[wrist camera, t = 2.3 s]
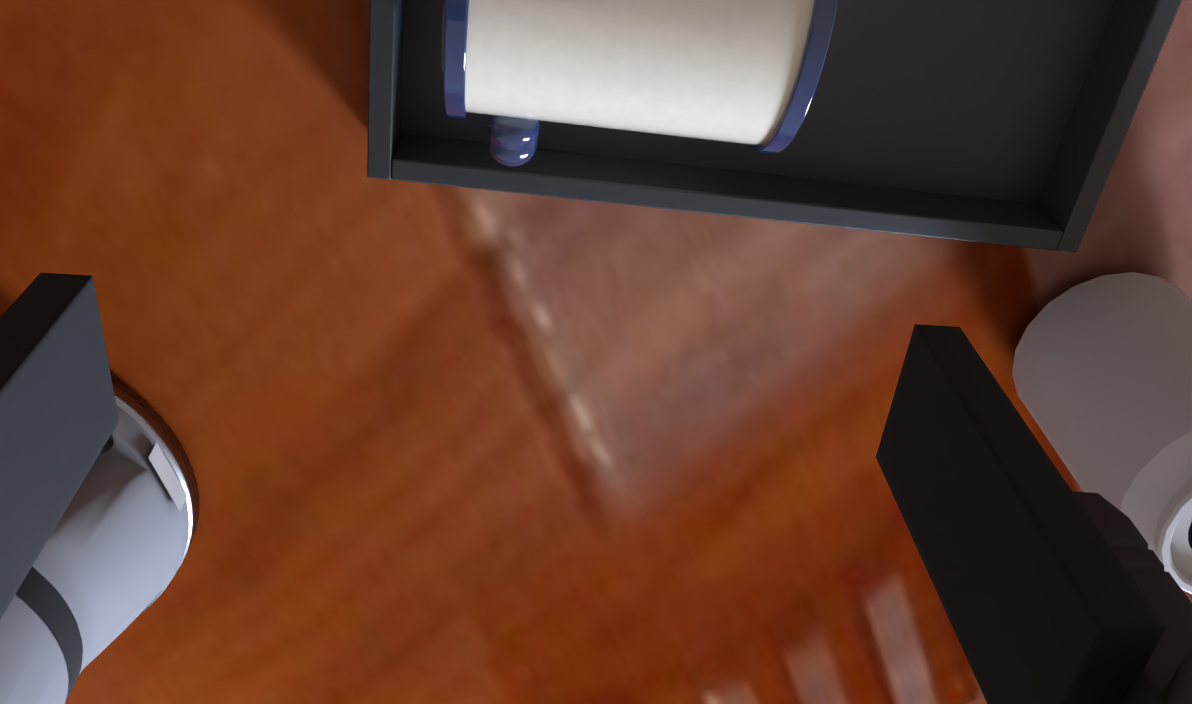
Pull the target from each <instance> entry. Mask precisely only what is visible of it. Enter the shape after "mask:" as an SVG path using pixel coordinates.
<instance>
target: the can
mask: <svg viewBox="0 0 1192 704" xmlns="http://www.w3.org/2000/svg"><path fill="white" fill-rule="evenodd" d="M1012 375H1013V379H1014V383H1015V387H1016V390H1017V394H1018V396H1019V398H1020V399H1021V400H1022V402H1023V403H1024V405H1025V406H1026V408H1027V409H1028V411H1029V412H1030V414H1031V415H1032V417H1033V418H1034V420H1035V421H1036V422H1037V424H1038V425H1039V427H1040V428H1041V430H1042V431H1043V433H1044V434H1045V436H1046V437H1047V439H1048V440H1049V441H1050V443H1051V444H1052V446H1053V447H1054V449H1055V450H1056V452H1057V453H1058V455H1059V456H1060V458H1061V459H1062V461H1063V462H1064V463H1065V465H1066V466H1067V468H1068V469H1069V471H1070V472H1071V474H1072V475H1073V477H1074V478H1075V480H1076V481H1077V483H1078V484H1079V485H1080V487H1081V488H1082V490H1083V491H1084V492H1090V493H1098V494H1100V495H1101V496H1102V497H1103V498H1105V499H1106V500H1107V501H1109V502H1110V503H1111V504H1112V505H1114V506H1115V507H1116V508H1118V509H1119V510H1120V511H1121V512H1123V513H1124V514H1125V515H1126V516H1128V517H1129V518H1130V520H1131V521H1132V522H1133V524H1134V525H1135V527H1136V528H1137V529H1138V531H1139V532H1140V533H1141V535H1142V536H1143V537H1144V539H1145V540H1146V542H1147V543H1148V544H1149V545H1148V549H1150V550H1153V551H1154V552H1155V554H1156V555H1157V557H1158V558H1159V559H1160V561H1161V562H1162V563H1163V565H1164V566H1165V567H1164V571H1165V572H1169V573H1170V574H1171V576H1172V577H1173V578H1174V580H1175V581H1176V582H1177V584H1178V585H1179V587H1180V588H1181V589H1182V590H1184V591H1187V592H1188V593H1190V594H1192V300H1191V299H1190V298H1189V297H1188V296H1187V295H1186V294H1185V293H1184V292H1183V291H1182V290H1180V289H1179V288H1177V287H1176V286H1174V285H1172V284H1171V283H1169V282H1167V281H1166V280H1164V279H1162V278H1161V277H1157V276H1152V275H1146V274H1141V273H1136V272H1129V273H1119V274H1110V275H1103V276H1100V277H1097V278H1095V279H1092V280H1089V281H1087V282H1084V283H1081V284H1079V285H1076V286H1073V287H1072V288H1070V289H1069V290H1067V291H1066V292H1064V293H1063V294H1061V295H1060V296H1059V297H1057V298H1056V299H1054V300H1053V301H1051V302H1050V303H1048V304H1047V305H1046V306H1045V307H1044V308H1043V309H1042V310H1041V312H1040V313H1039V314H1038V315H1037V316H1036V317H1035V318H1034V319H1033V320H1032V321H1031V323H1030V324H1029V325H1028V326H1027V328H1026V330H1025V332H1024V334H1023V336H1022V338H1021V340H1020V342H1019V344H1018V346H1017V348H1016V350H1015V356H1014V363H1013V371H1012Z"/></svg>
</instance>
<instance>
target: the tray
mask: <svg viewBox="0 0 1192 704" xmlns="http://www.w3.org/2000/svg"><path fill="white" fill-rule="evenodd" d="M1181 1H1182V0H839V1H838V7H837V12H836V17H835V22H834V27H833V31H832V35H831V40H830V44H829V48H828V52H827V55H826V59H825V63H824V66H823V70H822V73H821V76H820V79H819V83H818V86H817V88H816V91H815V94H814V97H813V99H812V102H811V105H810V107H809V109H808V112H807V114H806V116H805V118H804V120H803V122H802V124H801V126H800V128H799V130H798V132H797V134H796V135H795V137H794V138H793V140H792V141H791V142H790V144H789V145H788V146H787V147H786V148H785V149H784V150H782V151H781V152H779V153H776V154H770V153H761V152H755V151H754V150H752V149H751V148H750V146H749V145H748V144H742V143H733V142H724V141H715V140H706V139H698V138H689V137H680V136H671V135H663V134H654V133H645V132H636V131H628V130H619V129H610V128H601V127H592V126H584V125H575V124H566V123H557V122H549V121H540V127H539V136H538V145H537V149H536V152H535V154H534V155H533V157H532V158H531V159H530V160H529V161H528V162H526V163H524V164H523V165H520V166H506V165H503V164H501V163H499V162H498V161H497V160H496V159H494V157H493V156H492V155H491V153H490V151H489V149H488V144H487V134H488V121H489V115H487V114H478V113H470V112H469V114H468V117H467V118H466V119H461V118H452V117H448V116H447V115H446V112H445V107H444V94H443V86H442V61H441V53H442V11H443V0H370V21H369V90H368V159H367V176H368V177H370V178H379V179H388V180H389V179H391V178H392V179H393V180H401V181H410V182H419V183H429V184H438V185H448V186H457V187H466V188H476V189H485V190H494V191H504V192H513V193H522V194H532V195H541V196H551V197H560V198H569V199H579V200H588V201H597V202H607V203H616V204H625V205H635V206H644V207H654V208H663V209H672V210H682V211H691V212H700V213H710V214H719V215H728V216H738V217H747V218H757V219H766V220H775V221H785V222H794V223H803V224H813V225H822V226H831V227H841V228H850V229H860V230H869V231H878V232H888V233H897V234H906V235H916V236H925V237H934V238H944V239H953V240H962V241H972V242H981V243H991V244H1000V245H1009V246H1019V247H1028V248H1037V249H1047V250H1058V251H1066V252H1077V251H1078V248H1079V246H1080V243H1081V241H1082V239H1083V236H1084V234H1085V231H1086V229H1087V227H1088V224H1089V222H1090V219H1091V217H1092V215H1093V212H1094V210H1095V207H1096V205H1097V203H1098V200H1099V198H1100V195H1101V193H1102V191H1103V188H1104V186H1105V183H1106V181H1107V179H1108V176H1109V174H1110V171H1111V169H1112V167H1113V164H1114V162H1115V159H1116V157H1117V155H1118V152H1119V150H1120V147H1121V145H1122V143H1123V140H1124V138H1125V135H1126V133H1127V131H1128V128H1129V126H1130V123H1131V121H1132V119H1133V116H1134V114H1135V111H1136V109H1137V107H1138V104H1139V102H1140V99H1141V97H1142V95H1143V92H1144V90H1145V87H1146V85H1147V83H1148V80H1149V78H1150V75H1151V73H1152V71H1153V68H1154V66H1155V63H1156V61H1157V59H1158V56H1159V54H1160V51H1161V49H1162V47H1163V44H1164V42H1165V39H1166V37H1167V35H1168V32H1169V30H1170V27H1171V25H1172V23H1173V20H1174V18H1175V15H1176V13H1177V11H1178V8H1179V6H1180V3H1181Z"/></svg>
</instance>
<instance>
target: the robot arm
mask: <svg viewBox="0 0 1192 704" xmlns="http://www.w3.org/2000/svg"><path fill="white" fill-rule="evenodd" d="M876 458H877V460H878V463H879V465H880V467H881V469H882V471H883V474H884V476H885V478H886V480H887V482H888V485H889V487H890V489H891V491H892V493H893V496H894V498H895V500H896V502H897V505H898V507H899V509H900V511H901V513H902V516H903V518H904V520H905V522H906V524H907V527H908V529H909V531H910V533H911V536H912V538H913V540H914V542H915V544H916V547H917V549H918V551H919V553H920V555H921V558H922V560H923V562H924V564H925V567H926V569H927V571H928V573H929V575H930V578H931V580H932V582H933V584H934V586H935V589H936V591H937V593H938V595H939V598H940V600H941V602H942V604H943V606H944V609H945V611H946V613H947V615H948V617H949V620H950V622H951V624H952V626H953V629H954V631H955V633H956V635H957V637H958V640H959V642H960V644H961V646H962V648H963V651H964V653H965V655H966V657H967V660H968V662H969V664H970V666H971V668H972V671H973V673H974V675H975V677H976V679H977V682H978V684H979V686H980V688H981V690H982V693H983V695H984V697H985V699H986V701H987V704H1192V603H1191V602H1190V600H1189V599H1188V597H1187V596H1186V595H1185V593H1184V592H1183V591H1182V589H1181V588H1180V587H1179V585H1178V584H1177V582H1176V581H1175V580H1174V578H1173V577H1172V576H1171V574H1170V573H1169V572H1165V571H1164V567H1165V566H1164V565H1163V563H1162V562H1161V561H1160V559H1159V558H1158V557H1157V555H1156V554H1155V552H1154V551H1153V550H1150V549H1148V545H1149V544H1148V543H1147V542H1146V540H1145V539H1144V537H1143V536H1142V535H1141V533H1140V532H1139V531H1138V529H1137V528H1136V527H1135V525H1134V524H1133V522H1132V521H1131V520H1130V518H1129V517H1128V516H1126V515H1125V514H1124V513H1123V512H1121V511H1120V510H1119V509H1118V508H1116V507H1115V506H1114V505H1112V504H1111V503H1110V502H1109V501H1107V500H1106V499H1105V498H1103V497H1102V496H1101V495H1100V494H1098V493H1090V492H1072V490H1071V489H1070V488H1069V486H1068V485H1067V483H1066V482H1065V480H1064V479H1063V477H1062V476H1061V474H1060V473H1059V471H1058V470H1057V469H1056V467H1055V466H1054V464H1053V463H1052V461H1051V460H1050V458H1049V457H1048V455H1047V454H1046V453H1045V451H1044V450H1043V448H1042V447H1041V445H1040V444H1039V442H1038V441H1037V439H1036V438H1035V436H1034V435H1033V434H1032V432H1031V431H1030V429H1029V428H1028V426H1027V425H1026V423H1025V422H1024V420H1023V419H1022V417H1021V416H1020V415H1019V413H1018V412H1017V410H1016V409H1015V407H1014V406H1013V404H1012V403H1011V401H1010V400H1009V398H1008V397H1007V396H1006V394H1005V393H1004V391H1003V390H1002V388H1001V387H1000V385H999V384H998V382H997V381H996V379H995V378H994V377H993V375H992V374H991V372H990V371H989V369H988V368H987V366H986V365H985V363H984V362H983V360H982V359H981V358H980V356H979V355H978V353H977V352H976V350H975V349H974V347H973V346H972V344H971V343H970V342H969V340H968V339H967V337H966V336H965V334H964V333H963V331H962V330H961V328H960V327H950V326H933V325H916V324H915V326H914V330H913V333H912V336H911V340H910V343H909V347H908V350H907V353H906V357H905V360H904V364H903V367H902V370H901V374H900V377H899V381H898V384H897V387H896V391H895V394H894V398H893V401H892V404H891V408H890V411H889V415H888V418H887V421H886V425H885V428H884V432H883V435H882V438H881V442H880V445H879V448H878V452H877V455H876ZM198 514H199V495H198V488H197V482H196V479H195V475H194V472H193V469H192V466H191V464H190V461H189V459H188V457H187V455H186V453H185V451H184V449H183V447H182V445H181V444H180V442H179V440H178V439H177V438H176V436H175V435H174V433H173V432H172V430H171V429H170V428H169V426H168V425H167V424H166V423H165V421H164V420H163V419H162V418H161V417H160V416H159V415H158V414H157V412H156V411H155V410H154V409H153V408H152V407H151V406H150V405H149V404H148V403H147V402H145V401H144V400H143V399H142V398H141V397H140V396H138V395H137V394H136V393H135V392H134V391H132V390H131V389H130V388H128V387H127V386H126V385H124V384H123V383H122V382H120V381H119V380H117V379H116V378H114V377H113V376H111V374H110V369H109V363H108V358H107V352H106V347H105V341H104V336H103V330H102V325H101V320H100V314H99V309H98V303H97V298H96V292H95V287H94V281H93V276H88V275H71V274H54V273H40V274H39V275H38V276H37V277H36V279H35V280H34V281H33V282H32V283H31V284H30V285H29V286H28V287H27V289H26V290H25V291H24V292H23V293H22V294H21V295H20V296H19V297H18V299H17V300H16V301H15V302H14V303H13V304H12V305H11V306H10V308H9V309H8V310H7V311H6V312H5V313H4V314H3V315H2V316H1V318H0V704H65V702H66V700H67V698H68V696H69V694H70V692H71V690H72V688H73V686H74V684H75V682H76V680H77V678H78V676H79V674H80V673H81V671H82V670H83V669H84V668H85V667H86V666H87V665H88V664H89V663H90V662H91V661H92V660H93V659H94V658H95V657H97V656H98V655H99V654H100V653H101V652H102V651H103V650H104V649H105V648H106V647H107V646H108V645H109V644H110V643H111V642H112V641H113V640H114V639H116V638H117V637H118V636H119V635H120V634H121V633H122V632H123V631H124V630H125V629H126V628H127V627H128V626H129V625H130V624H131V623H132V622H133V621H134V620H135V619H136V618H137V617H138V615H139V614H140V613H141V612H143V611H144V610H145V609H147V608H148V607H149V606H150V605H151V604H152V603H153V602H154V601H155V600H156V599H157V598H158V597H159V596H160V595H161V594H162V592H163V591H164V590H165V589H166V587H167V586H168V584H169V583H170V581H171V580H172V578H173V577H174V575H175V574H176V573H177V571H178V569H179V567H180V566H181V564H182V562H183V560H184V557H185V555H186V553H187V551H188V548H189V546H190V544H191V541H192V539H193V536H194V534H195V530H196V526H197V522H198Z"/></svg>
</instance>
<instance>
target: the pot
mask: <svg viewBox="0 0 1192 704" xmlns="http://www.w3.org/2000/svg"><path fill="white" fill-rule="evenodd" d="M838 1H839V0H443V11H442V53H441V61H442V86H443V94H444V107H445V112H446V115H447V116H448V117H452V118H461V119H466V118H467V117H468V114H469V112H470V113H478V114H487V115H489V121H488V134H487V144H488V149H489V151H490V153H491V155H492V156H493V157H494V159H496V160H497V161H498V162H499V163H501V164H503V165H506V166H520V165H523V164H524V163H526V162H528V161H529V160H530V159H531V158H532V157H533V155H534V154H535V152H536V149H537V145H538V136H539V127H540V121H549V122H557V123H566V124H575V125H584V126H592V127H601V128H610V129H619V130H628V131H636V132H645V133H654V134H663V135H671V136H680V137H689V138H698V139H706V140H715V141H724V142H733V143H742V144H748V145H749V146H750V148H751V149H752V150H754V151H755V152H761V153H770V154H776V153H779V152H781V151H782V150H784V149H785V148H786V147H787V146H788V145H789V144H790V142H791V141H792V140H793V138H794V137H795V135H796V134H797V132H798V130H799V128H800V126H801V124H802V122H803V120H804V118H805V116H806V114H807V112H808V109H809V107H810V105H811V102H812V99H813V97H814V94H815V91H816V88H817V86H818V83H819V79H820V76H821V73H822V70H823V66H824V63H825V59H826V55H827V52H828V48H829V44H830V40H831V35H832V31H833V27H834V22H835V17H836V12H837V7H838Z"/></svg>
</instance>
